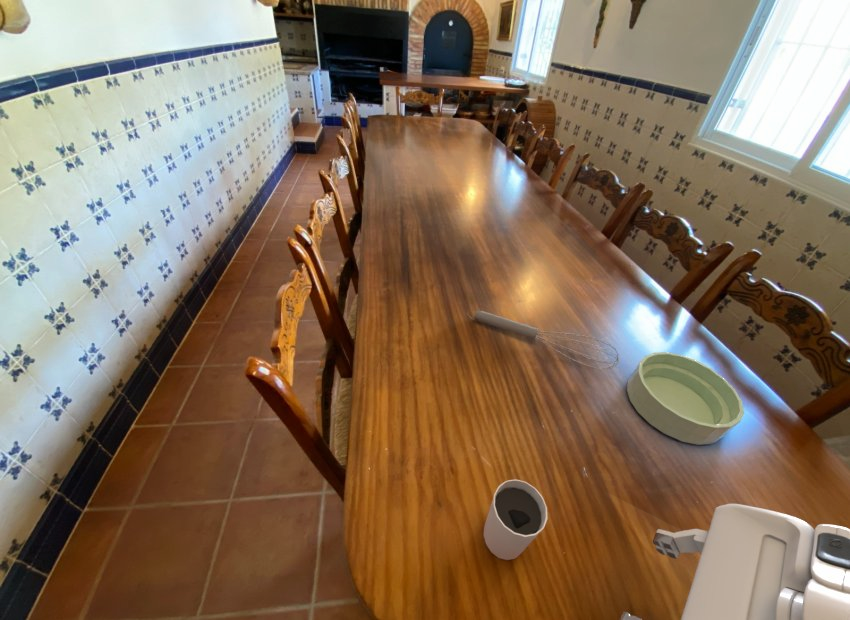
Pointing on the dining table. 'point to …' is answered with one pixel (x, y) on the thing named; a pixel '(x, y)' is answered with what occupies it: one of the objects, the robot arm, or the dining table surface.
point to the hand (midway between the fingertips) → (640, 579)
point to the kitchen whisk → (531, 332)
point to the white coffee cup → (514, 519)
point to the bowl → (684, 398)
